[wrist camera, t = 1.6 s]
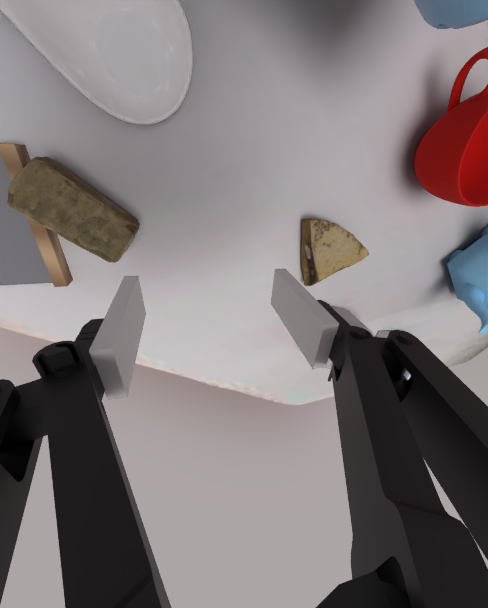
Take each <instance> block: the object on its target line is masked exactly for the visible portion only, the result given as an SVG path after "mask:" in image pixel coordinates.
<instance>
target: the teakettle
mask: <svg viewBox="0 0 488 608" xmlns="http://www.w3.org/2000/svg"><path fill="white" fill-rule="evenodd" d="M447 266H448V269H449V273H450V276H451V279H452V283H453V286H454V289H455V292H456V296H457V298H458V299H460V300H462V301H464V302H465V303H466V305H467V306H468V307H469V308H470V309H471V310H472V311H473V312H474V313H475V314H477V316H478V317H479V318H480V320H481V322H482V326H481V329H480V331H479V334H482V333H484V332H486V331H487V330H488V226H487V227H486V228H485V229H484V230H483V231H482V234H481V238H480V239H478V240H477V241H476V242H475V243H473V244H472V245H471V246H469V247H468V248H467V249H465V250H464V251H462V250H456V251H454V252H453V253H452V254H451V256H450V257H449V262H448V263H447Z"/></svg>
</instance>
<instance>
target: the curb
mask: <svg viewBox="0 0 488 608" xmlns="http://www.w3.org/2000/svg"><path fill="white" fill-rule="evenodd" d="M0 154H1V156H2V158H3V161H4V163H5V166H6V168H7V171H8V173H9V176H10V178H11V180H12V179H13V177H14V176H15V175H16V174H17V173H18V172H20V171H22V170H23V169H24V168H25V166H26V165H27V164H28V163H29V162H30V158H29V155H28V152H27V150H26V147H25V145H18V144H4V143H0ZM26 218H27V220H28V222H29V225H30V227H31V230H32V232H33V235H34V237H35V240H36V242H37V245H38V247H39V250H40V252H41V255H42V257H43V259H44V262H45V264H46V267H47V269H48V272H49V274H50V277H51V279H52V282H53V284H54V287H60V286H68V285H69V284H70V283H71V281H72V280H73V279H72V276H71V273H70V270H69V268H68V265H67V262H66V259H65V256H64V254H63V251H62V248H61V245H60V242H59V240H58V237H57V234H56V233H55V232H53V231H52V230H50V229H48V228H46V227H44V226H42V225H40V224H38V223H37V222H36V221H34V220H33V219H32V218H31V217H29V216H27V215H26Z"/></svg>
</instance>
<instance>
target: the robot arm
mask: <svg viewBox="0 0 488 608" xmlns="http://www.w3.org/2000/svg"><path fill="white" fill-rule="evenodd" d="M414 2H415V4H416V6H417V7H418V9H419V11H420V13H421V15H422V17H423V19H424V20H425V21H426V22H427V23H428V24H429V25H431V26H432V27H434V28H437V29H448V28H454V29H459V28H464V27H467V26H471V25H475V24H478V23H480V22H483V21H486V20H488V0H414ZM271 305H272V306H273V308H274V309H275V311H276V312H277V314H278V315H279V317H280V319H281V320H282V322H283V323H284V325H285V326H286V328H287V330H288V331H289V333H290V334H291V336H292V337H293V339H294V340H295V342H296V344H297V345H298V347H299V348H300V350H301V351H302V353H303V355H304V356H305V358H306V359H307V361H308V362H309V364H310V365H311V367H312V369H314V368H321V367H326V365H327V362H328V359H330V360H331V361H332V363H333V365H332V368H331V371H330V374H329V378H328V381H330V380H331V378H332V379H333V387H334V394H335V402H336V409H337V417H338V425H339V432H340V439H341V447H342V455H343V463H344V470H345V477H346V485H347V493H348V500H349V508H350V515H351V523H352V531H353V541H352V549H351V569H352V580H350V581H347V582H345V583H342V584H339V585H338V586H337V587H336V588H335V589H334V590H333V591H332V592H331V593H330V594H329V595H328V596H327V597H326V598H325V599H324V600H323V601H322V602H321V603H320V604H319V605H318V606H317V607H316V608H488V569H487V567H486V564H485V562H484V560H483V558H482V555H481V553H480V551H479V549H478V547H477V545H476V542H477V544H478V545H479V547H480V549H481V550H482V552H483V554H484V555H485V557H486V558H487V560H488V406H486V404H484V402H483V401H481V400H480V399H479V398H478V397H477V396H476V395H475V394H474V393H473V392H472V391H471V390H470V389H469V388H468V387H467V386H466V385H465V384H464V383H463V382H462V381H461V380H460V379H459V378H458V377H457V376H456V375H455V374H453V372H452V371H451V370H450V369H448V367H447V366H446V365H444V364H443V363H442V362H441V361H440V360H439V359H438V358H437V357H436V356H435V355H434V354H433V353H432V352H431V351H430V350H429V349H428V348H427V347H426V346H425V345H424V344H423V343H422V342H421V341H420V340H419V339H418V338H416V337H415V336H414V335H412V334H410V333H408V332H405V331H400V330H392V331H390V332H389V334H388V336H387V338H382V337H373V335H372V334H371V333H370V332H369V331H368V330H366V329H364V328H362V327H358V326H351V325H350V324H349V323H348V322H347V321H346V320H345V319H344V318H342V317H341V316H340V315H339V314H338V313H337V312H336V311H335V310H334V309H333V308H332V307H331V306H330V305H329V304H327V303H326V302H324V301H322V300H316V299H315V298H314V297H313V296H312V295H311V294H310V293H309V292H308V291H307V290H306V289H305V288H304V287H303V286H302V285H301V284H300V283H299V282H298V281H297V280H296V279H295V278H294V277H293V276H292V275H291V274H290V273H289V272H288V271H287V270H286V269H275V273H274V282H273V290H272V298H271ZM145 315H146V312H145V307H144V302H143V297H142V292H141V287H140V282H139V277H138V276H124V279H123V281H122V283H121V285H120V287H119V289H118V291H117V293H116V295H115V297H114V299H113V301H112V304H111V306H110V308H109V310H108V312H107V314H106V316H105V318H104V319H93V320H91V321H89V322H88V323H87V324H85V325H84V326H83V328H82V329H81V331H80V333H79V335H78V336H77V338H76V341H74V342H73V341H61V342H57V343H53V344H51V345H49V346H46V347H44V348H43V349H41V350H40V351H39V352H38V353H37V354H36V355H35V356H34V358H33V360H32V362H33V363H34V365H35V367H36V369H37V370H38V372H39V374H40V376H41V378H40V379H38V380H35V381H32V382H29V383H26V384H23V385H20V386H16V387H15V386H14V384H13V383H12V382H11V381H9V380H4V379H2V380H0V603H1V599H2V595H3V591H4V587H5V584H6V580H7V576H8V572H9V568H10V564H11V560H12V556H13V552H14V548H15V544H16V541H17V537H18V533H19V529H20V525H21V521H22V517H23V513H24V509H25V505H26V501H27V497H28V493H29V490H30V486H31V482H32V478H33V474H34V470H35V466H36V462H37V458H38V454H39V450H40V447H41V443H42V438H43V436H45V435H48V441H49V450H50V460H51V470H52V479H53V490H54V500H55V509H56V519H57V528H58V539H59V548H60V558H61V568H62V578H63V588H64V597H65V607H66V608H171V605H170V603H169V600H168V597H167V594H166V591H165V588H164V585H163V582H162V579H161V577H160V573H159V570H158V567H157V564H156V561H155V558H154V555H153V553H152V549H151V546H150V544H149V541H148V537H147V534H146V531H145V528H144V525H143V522H142V519H141V517H140V514H139V510H138V508H137V504H136V502H135V498H134V496H133V492H132V490H131V486H130V483H129V481H128V478H127V475H126V471H125V469H124V466H123V463H122V460H121V457H120V454H119V451H118V448H117V445H116V442H115V439H114V436H113V433H112V430H111V427H110V424H109V421H108V418H107V415H106V412H105V409H104V406H103V403H102V401H101V400H102V397H103V394H104V391H105V394H106V396H107V399H108V400H110V399H118V398H124V397H127V396H128V392H129V387H130V383H131V378H132V373H133V369H134V365H135V360H136V356H137V351H138V347H139V342H140V338H141V333H142V329H143V324H144V320H145ZM406 371H408V372H409V374H410V375H411V376H410V378H409V379H408V380H407V379H406V377H405V376H404V374H405V372H406ZM423 458H424V459H423ZM424 460H425V461H426V463H427V465H428V466H429V468H430V469H431V471H432V473H433V474H434V476H435V477H436V479H437V480H438V482H439V484H440V485H441V487H442V488H443V490H444V492H445V493H446V495H447V496H448V498H449V499H450V501H451V503H452V504H453V506H454V507H455V509H456V511H457V512H458V514H459V515H460V517H461V519H462V520H463V522H464V523H465V525H466V526H467V528H468V529H467V528H466V527H465V526H464V524H463V523H462V522H461V521H459V520H457V519H455V518H454V517H452V516H450V515H449V514H448V513H447V512H446V511H445V509H444V507H443V505H442V503H441V501H440V499H439V496H438V494H437V491H436V489H435V486H434V484H433V481H432V479H431V476H430V474H429V472H428V469H427V467H426V464H425V462H424ZM469 531H470V532H469ZM470 533H471V534H472V535H471V534H470ZM472 536H473V537H472ZM473 538H474V539H475V541H476V542H475V541H474V539H473Z"/></svg>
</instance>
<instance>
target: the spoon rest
mask: <svg viewBox="0 0 488 608" xmlns="http://www.w3.org/2000/svg"><path fill="white" fill-rule="evenodd" d="M0 11H1V12H2V13H3V14H4V15H5V16H6V17H7V18H8V19H9V20H10V21H11V22H12V23H13V24H14V25H15V26H16V27H17V29H18V30H19V31H20V32H21V33H22V34H23V35H24V36H25V37H26V38H27V39H28V40H29V41H30V43H31V44H32V45H33V46H34V47H35V48H36V49H37V50H38V51H39V52H40V53H41V54H42V55H43V56H44V57H45V58H46V59H47V60H48V61H49V62H50V64H51V65H52V66H53V67H54V68H55V69H56V70H57V71H58V72H59V73H60V74H61V75H62V76H63V77H64V78H65V79H66V80H67V81H68V82H69V83H71V84H72V85H73V86H74V87H75V88H76V89H77V90H78V91H79V92H80V93H81V94H82V95H84V96H85V97H86V98H87V99H88V100H90V101H91V102H92V103H93V104H95V105H96V106H97V107H99V108H100V109H102V110H103V111H105V112H106V113H108V114H110V115H111V116H113V117H115V118H117V119H119V120H121V121H124V122H127V123H131V124H137V125H151V124H156V123H159V122H161V121H163V120H165V119H167V118H169V117H170V116H171V115H173V114H174V113H175V112H176V111H177V110H178V108H179V107H180V105H181V104H182V102H183V100H184V98H185V96H186V94H187V91H188V88H189V85H190V81H191V76H192V70H193V48H192V38H191V33H190V28H189V25H188V21H187V18H186V15H185V13H184V10H183V8H182V5H181V3H180V1H179V0H0Z"/></svg>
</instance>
